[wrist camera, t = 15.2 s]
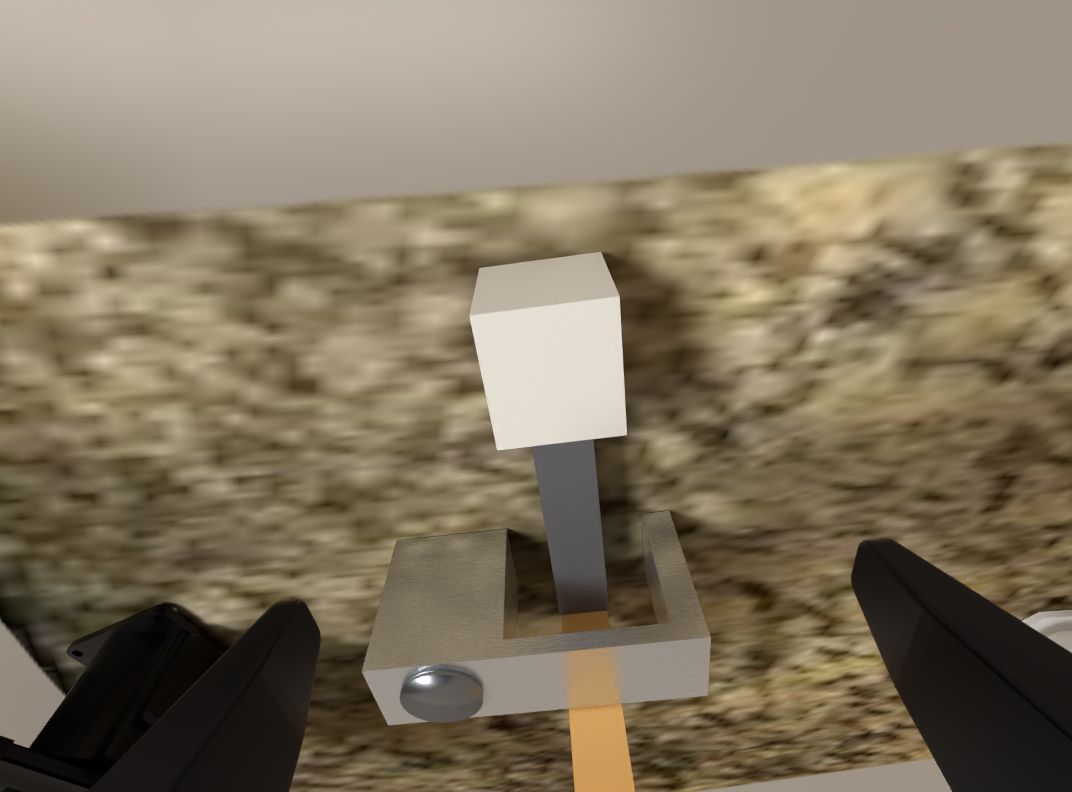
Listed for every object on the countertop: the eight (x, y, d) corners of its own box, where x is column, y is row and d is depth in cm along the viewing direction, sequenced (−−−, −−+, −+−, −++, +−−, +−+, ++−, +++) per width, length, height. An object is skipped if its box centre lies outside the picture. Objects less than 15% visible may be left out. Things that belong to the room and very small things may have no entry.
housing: (669, 565, 26) (709, 702, 20) (415, 592, 26) (386, 732, 21) (669, 510, 24) (713, 644, 18) (396, 540, 25) (360, 678, 19)
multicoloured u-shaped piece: (624, 603, 27) (668, 830, 19) (543, 611, 27) (552, 840, 19) (600, 252, 18) (664, 402, 10) (479, 267, 18) (445, 428, 10)
